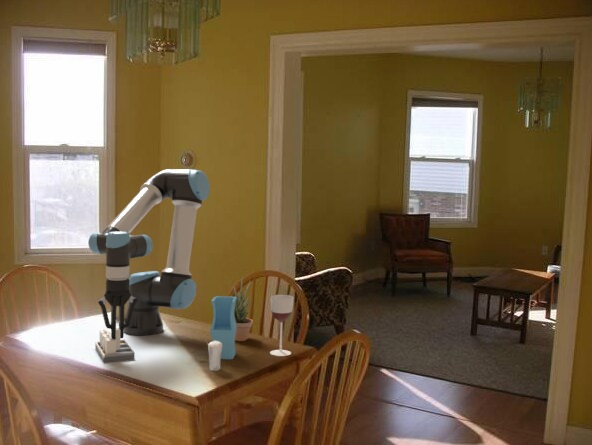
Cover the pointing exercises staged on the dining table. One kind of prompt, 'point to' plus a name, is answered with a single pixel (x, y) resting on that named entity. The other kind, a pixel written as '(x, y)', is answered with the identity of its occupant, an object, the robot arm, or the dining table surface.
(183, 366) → the dining table surface
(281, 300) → the wineglass
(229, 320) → the vase
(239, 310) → the potted plant
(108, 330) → the tab
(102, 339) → the tab
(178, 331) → the dining table surface
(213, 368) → the milkshake
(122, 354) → the switch bank
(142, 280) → the robot arm
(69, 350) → the dining table surface
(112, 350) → the tab
